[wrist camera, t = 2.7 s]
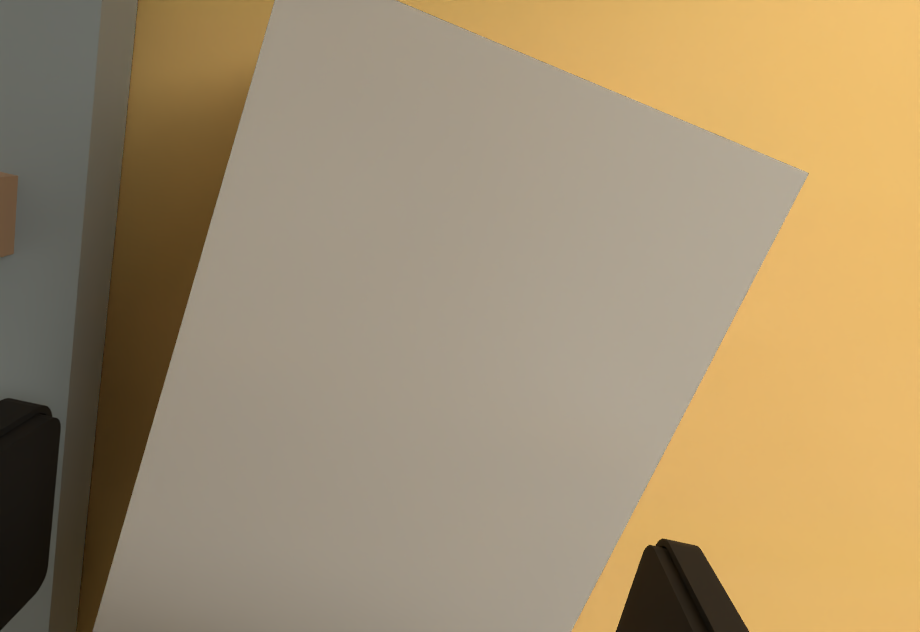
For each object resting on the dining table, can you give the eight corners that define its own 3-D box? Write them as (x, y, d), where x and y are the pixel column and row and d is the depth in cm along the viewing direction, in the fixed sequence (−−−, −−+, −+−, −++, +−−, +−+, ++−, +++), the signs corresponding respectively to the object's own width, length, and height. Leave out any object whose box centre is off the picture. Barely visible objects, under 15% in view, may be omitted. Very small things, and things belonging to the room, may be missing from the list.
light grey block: (370, 37, 10) (288, -46, 6) (658, 155, 11) (808, 172, 6) (150, 705, 14) (-17, 1005, 9) (375, 776, 14) (328, 1098, 10)
